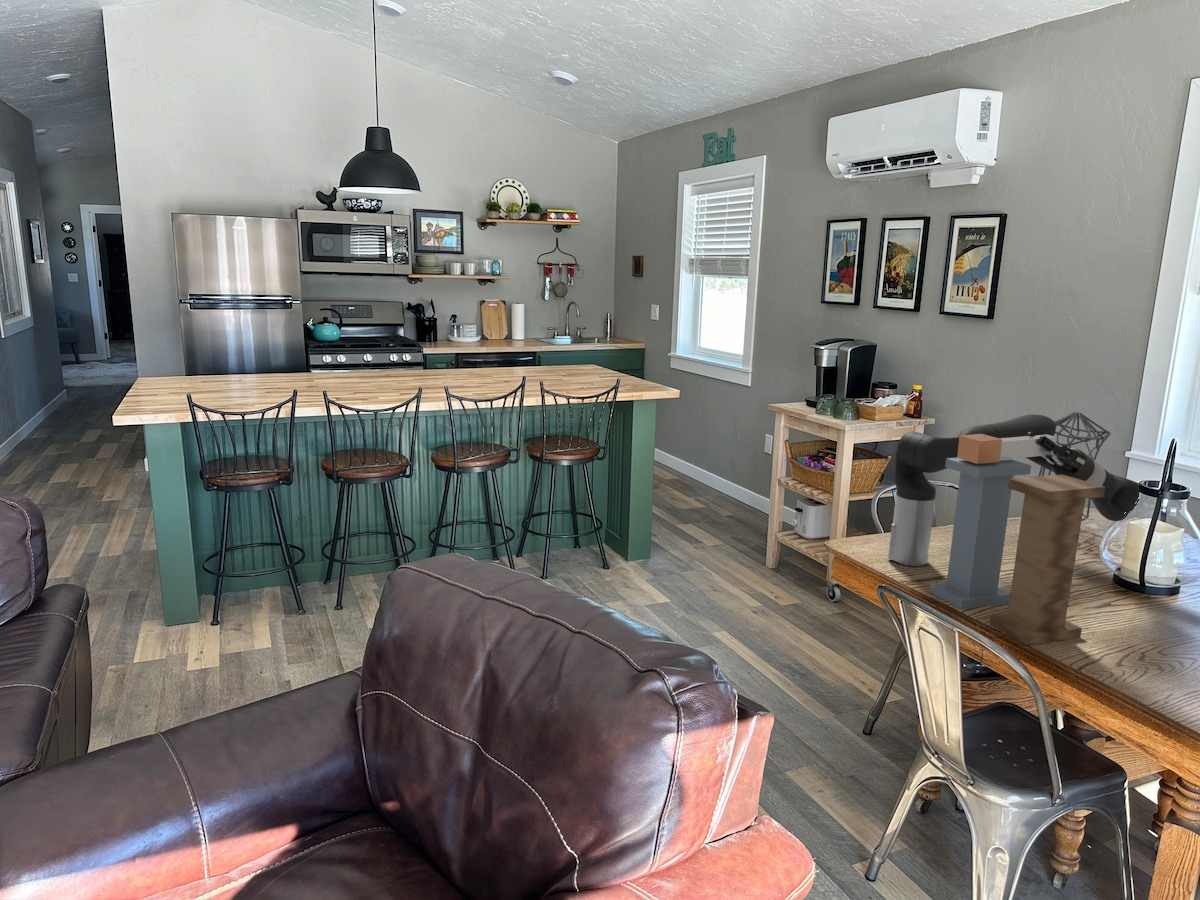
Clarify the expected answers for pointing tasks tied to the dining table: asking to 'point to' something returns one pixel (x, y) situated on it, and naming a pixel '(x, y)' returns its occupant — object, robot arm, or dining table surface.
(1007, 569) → the dining table surface
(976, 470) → the post
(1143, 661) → the dining table surface
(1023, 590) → the walnut post
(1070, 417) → the geometric lantern
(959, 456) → the bar
